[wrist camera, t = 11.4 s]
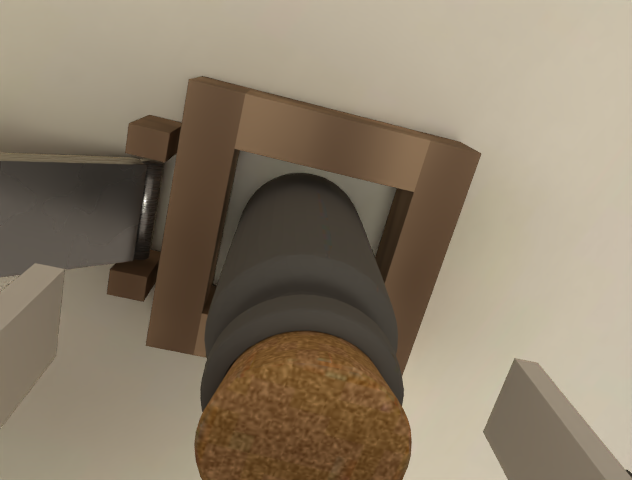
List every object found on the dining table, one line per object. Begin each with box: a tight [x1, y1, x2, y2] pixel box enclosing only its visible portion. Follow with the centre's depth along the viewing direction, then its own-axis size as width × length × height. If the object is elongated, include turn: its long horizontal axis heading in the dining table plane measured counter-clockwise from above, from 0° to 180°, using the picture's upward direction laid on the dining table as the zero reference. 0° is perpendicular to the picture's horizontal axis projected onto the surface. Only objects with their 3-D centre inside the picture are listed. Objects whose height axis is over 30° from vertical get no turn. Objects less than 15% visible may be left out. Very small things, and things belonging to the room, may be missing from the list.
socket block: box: [107, 76, 481, 375], centre depth 24 cm, size 14×12×3 cm
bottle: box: [195, 173, 412, 480], centre depth 18 cm, size 6×6×15 cm
